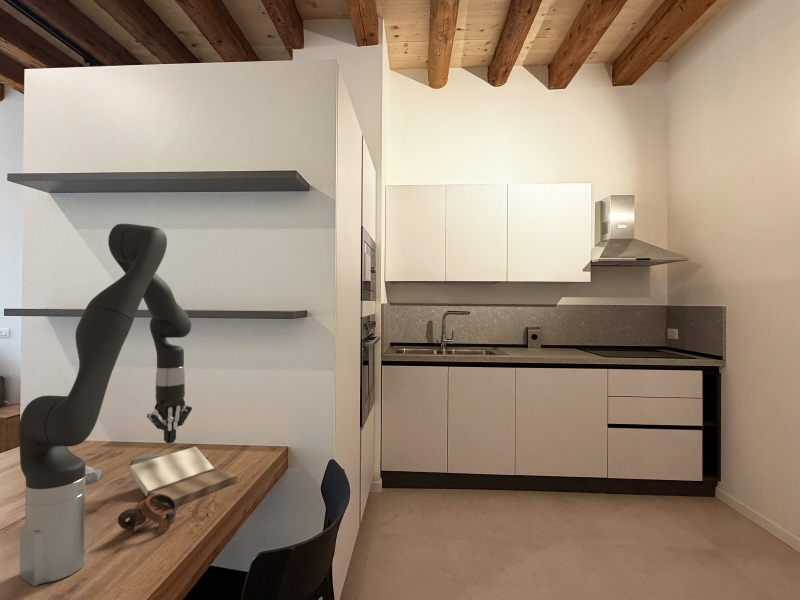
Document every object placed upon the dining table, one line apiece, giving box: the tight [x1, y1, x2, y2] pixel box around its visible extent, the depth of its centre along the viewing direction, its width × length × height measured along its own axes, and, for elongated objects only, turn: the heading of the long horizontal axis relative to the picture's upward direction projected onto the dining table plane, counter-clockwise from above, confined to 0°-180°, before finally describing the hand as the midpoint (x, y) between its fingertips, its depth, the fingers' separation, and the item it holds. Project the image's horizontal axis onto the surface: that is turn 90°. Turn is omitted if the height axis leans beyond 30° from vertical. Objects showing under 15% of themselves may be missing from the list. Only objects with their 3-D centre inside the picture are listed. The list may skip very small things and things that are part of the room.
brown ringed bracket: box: [117, 494, 178, 535], centre depth 105 cm, size 12×10×8 cm
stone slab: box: [131, 452, 210, 465], centre depth 153 cm, size 22×3×10 cm
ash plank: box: [128, 446, 215, 498], centre depth 133 cm, size 20×10×2 cm, turn 149°
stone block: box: [85, 464, 102, 486], centre depth 134 cm, size 12×5×10 cm
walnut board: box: [148, 467, 238, 508], centre depth 127 cm, size 20×10×2 cm, turn 149°
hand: (170, 442), depth 134 cm, fingers closed
